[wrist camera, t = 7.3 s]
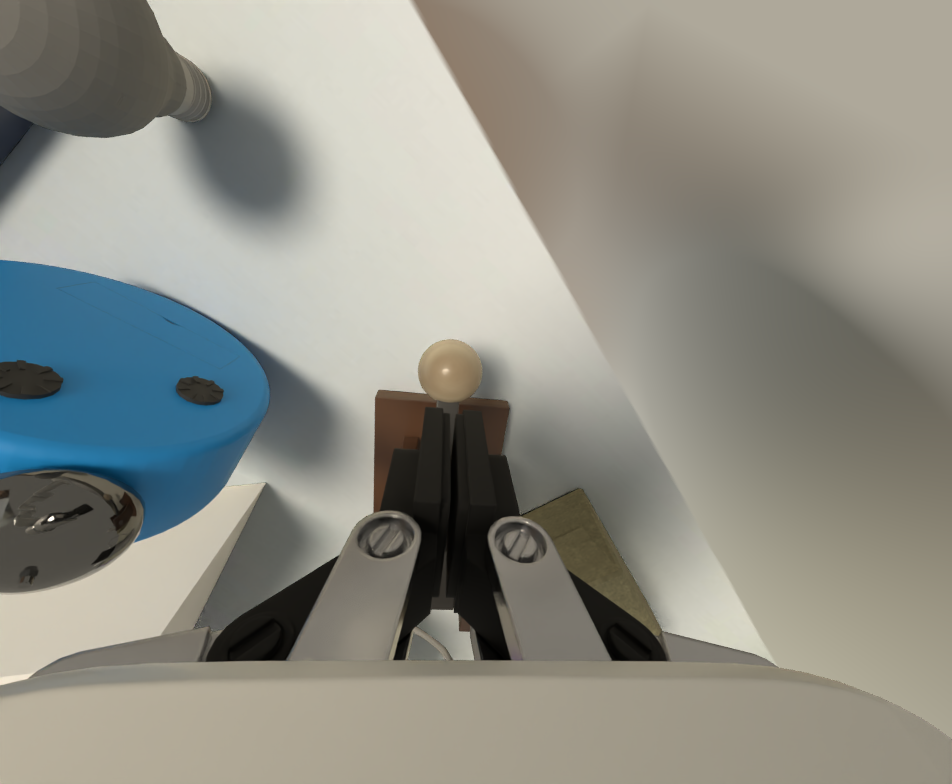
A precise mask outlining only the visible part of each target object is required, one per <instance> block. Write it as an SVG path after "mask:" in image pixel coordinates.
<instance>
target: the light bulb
mask: <svg viewBox="0 0 952 784" xmlns="http://www.w3.org/2000/svg"><path fill="white" fill-rule="evenodd" d="M211 102H212V97H211V90H210V87H209V84H208V82H207V80H206V78H205V76H204V75H203V73H202V72H201V71H200V69H199V68H198V67H197V66H196V65H195V64H194V63H192V62H191V61H189V60H188V59H186V58H185V57H183V56H181V55H180V54H178V53H177V52H175V51H174V50H173V48H172V47H171V45H170V44H169V43H168V42H167V40H166V39H165V38H164V37H163V36H162V33H161V30H160V28H159V25H158V23H157V20H156V18H155V15H154V13H153V11H152V9H151V8H150V6H149V4H148V2H147V1H146V0H0V106H2V107H3V108H5V109H7V110H8V111H10V112H12V113H13V114H15V115H17V116H19V117H21V118H24V119H26V120H28V121H30V122H33V123H35V124H37V125H39V126H42V127H44V128H47V129H51V130H55V131H58V132H62V133H66V134H71V135H75V136H82V137H99V138H108V137H115V136H121V135H126V134H131V133H133V132H135V131H138V130H140V129H142V128H144V127H145V126H146V125H147V124H148V123H150V122H151V121H152V120H153V119H154V118H155V117H163V116H167V115H168V116H171V117H173V118H176V119H179V120H182V121H185V122H196V121H199V120H201V119H203V118H204V117H205V116H206V115H207V114H208V112H209V110H210V107H211Z"/></svg>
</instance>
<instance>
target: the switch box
mask: <svg viewBox="0 0 952 784" xmlns="http://www.w3.org/2000/svg"><path fill="white" fill-rule="evenodd" d="M32 124H33V122H30V121H28V120H26V119H24V118H21V117H19V116H17V115H15V114H13V113H12V112H10V111H8V110H7V109H5V108H3V107H2V106H0V165H1V164H2V162H3V161H4V160H5V159H6V157H7V156H8V155H9V153H10V152H11V151H12V150H13V148H14V147H15V146H16V144H17V143H18V142H19V141H20V139H21V138H22V137H23V135H24V134H25V133H26V132H27V130H28V129H29V128H30V126H31V125H32Z"/></svg>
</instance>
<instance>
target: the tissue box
mask: <svg viewBox="0 0 952 784" xmlns="http://www.w3.org/2000/svg"><path fill="white" fill-rule="evenodd" d="M521 517H523V518H527V519H530V520H532V521H534V522H536V523H538V524H539V525H540V526H541V527H543V528H544V529H545V530H546V531H547V533H548V534H549V535H550V537H551V538H552V540H553V542H554V544H555V546H556V548H557V551H558V553H559V555H560V557H561V559H562V561H563V563H564V565H565V567H566V569H568V570H569V571H570V572H572V573H573V574H574V575H576V576H577V577H579V578H580V579H581V580H583V581H584V582H586V583H587V584H588V585H590V586H591V587H593V588H594V589H595V590H597V591H598V592H600V593H601V594H602V595H604V596H605V597H606V598H608V599H609V600H611V601H612V602H613V603H615V604H616V605H618V606H619V607H620V608H622V609H623V610H625V611H626V612H627V613H629V614H630V615H632V616H633V617H634V618H636V619H637V620H639V621H640V622H641V623H642V624H643V625H644V626H646V627H647V628H648V629H649V630H650V631H651V632H652V633H653V635H656V636H659V635H660V633H661V631H662V629H661V628H660V626H659V624H658V622H657V620H656V618H655V616H654V614H653V612H652V610H651V608H650V607H649V605H648V603H647V601H646V600H645V598H644V596H643V594H642V593H641V591H640V589H639V587H638V585H637V584H636V582H635V580H634V578H633V577H632V575H631V573H630V571H629V570H628V568H627V566H626V564H625V563H624V561H623V559H622V557H621V556H620V554H619V552H618V550H617V549H616V547H615V545H614V543H613V542H612V540H611V538H610V536H609V535H608V533H607V531H606V529H605V528H604V526H603V524H602V522H601V521H600V519H599V517H598V515H597V514H596V512H595V510H594V508H593V507H592V505H591V503H590V501H589V500H588V498H587V496H586V494H585V493H584V491H583V489H577V490H575V491H573V492H571V493H569V494H567V495H565V496H563V497H560V498H558V499H556V500H554V501H552V502H550V503H548V504H546V505H544V506H542V507H539V508H537V509H535V510H533V511H531V512H529V513H527V514H525V515H523V516H521Z"/></svg>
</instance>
